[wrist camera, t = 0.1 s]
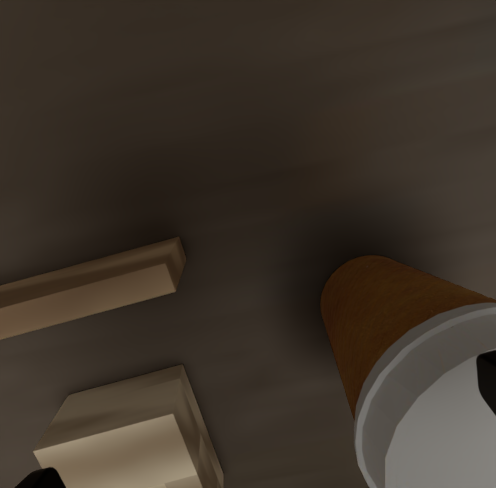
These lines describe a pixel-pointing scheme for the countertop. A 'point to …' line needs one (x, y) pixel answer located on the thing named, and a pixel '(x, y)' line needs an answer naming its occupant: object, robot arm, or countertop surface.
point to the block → (132, 436)
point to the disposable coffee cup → (413, 374)
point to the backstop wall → (91, 287)
